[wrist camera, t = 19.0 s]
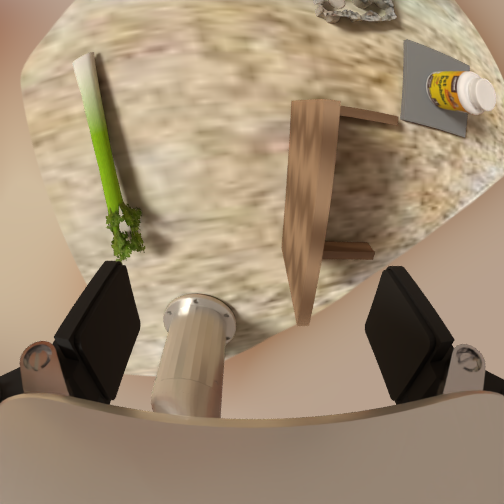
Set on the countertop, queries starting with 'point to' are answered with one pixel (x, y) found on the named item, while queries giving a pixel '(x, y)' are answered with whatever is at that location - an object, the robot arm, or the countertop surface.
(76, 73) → the green celery stalk
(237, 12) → the countertop surface
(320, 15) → the egg carton
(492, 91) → the supplement bottle
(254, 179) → the countertop surface
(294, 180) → the walnut rack
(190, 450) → the robot arm
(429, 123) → the slate mat
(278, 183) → the countertop surface
